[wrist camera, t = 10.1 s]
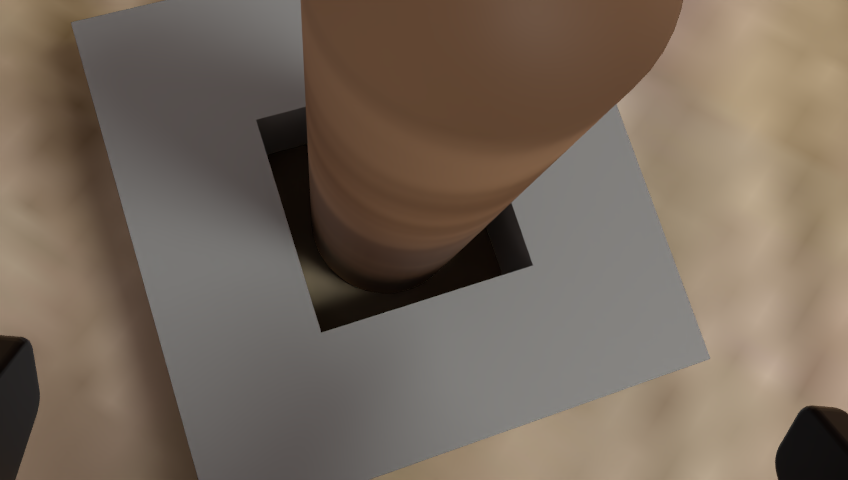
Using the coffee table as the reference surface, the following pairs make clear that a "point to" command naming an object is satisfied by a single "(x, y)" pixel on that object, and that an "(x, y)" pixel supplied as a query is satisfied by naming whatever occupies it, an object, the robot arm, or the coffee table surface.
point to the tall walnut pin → (452, 115)
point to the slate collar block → (378, 335)
